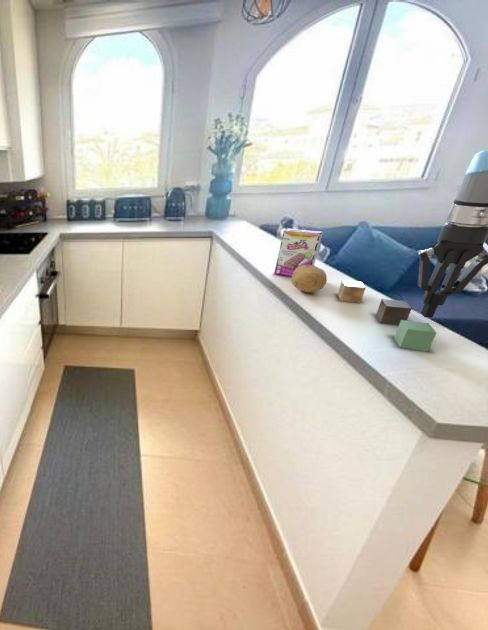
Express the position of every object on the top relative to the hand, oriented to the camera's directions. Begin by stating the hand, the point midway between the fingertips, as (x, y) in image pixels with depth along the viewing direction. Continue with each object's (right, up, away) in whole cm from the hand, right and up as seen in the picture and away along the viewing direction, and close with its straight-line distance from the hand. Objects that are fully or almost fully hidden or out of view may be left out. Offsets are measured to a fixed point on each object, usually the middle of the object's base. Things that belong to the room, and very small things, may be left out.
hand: (426, 315), depth 89 cm
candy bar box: (-10, +15, +38) cm, 42 cm away
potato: (-14, +8, +25) cm, 30 cm away
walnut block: (-6, -1, +4) cm, 7 cm away
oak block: (-6, +5, +17) cm, 19 cm away
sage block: (-11, -7, -7) cm, 15 cm away
